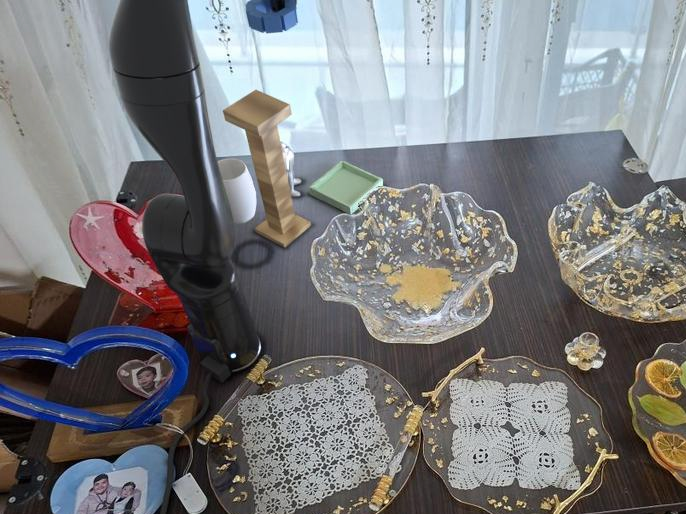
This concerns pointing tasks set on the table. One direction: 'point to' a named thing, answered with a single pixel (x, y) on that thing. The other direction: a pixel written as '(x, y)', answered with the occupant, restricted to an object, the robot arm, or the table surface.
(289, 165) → the figurine
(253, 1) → the ring
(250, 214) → the cup
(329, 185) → the tray
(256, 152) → the platform
